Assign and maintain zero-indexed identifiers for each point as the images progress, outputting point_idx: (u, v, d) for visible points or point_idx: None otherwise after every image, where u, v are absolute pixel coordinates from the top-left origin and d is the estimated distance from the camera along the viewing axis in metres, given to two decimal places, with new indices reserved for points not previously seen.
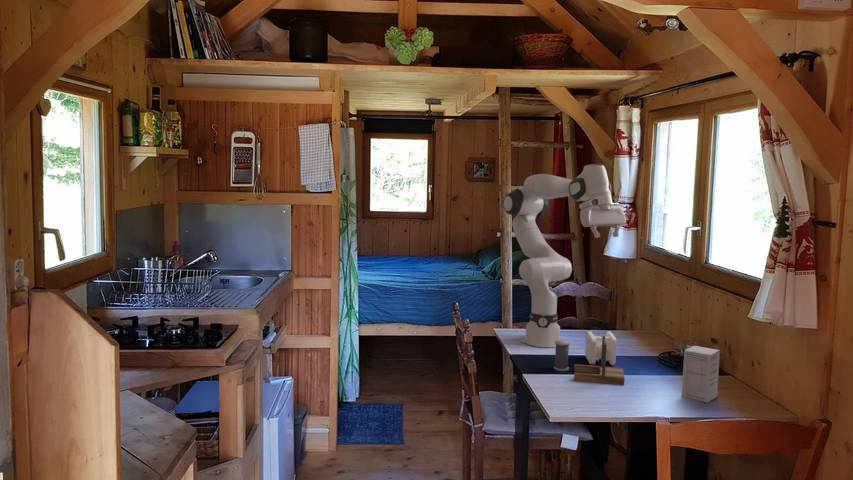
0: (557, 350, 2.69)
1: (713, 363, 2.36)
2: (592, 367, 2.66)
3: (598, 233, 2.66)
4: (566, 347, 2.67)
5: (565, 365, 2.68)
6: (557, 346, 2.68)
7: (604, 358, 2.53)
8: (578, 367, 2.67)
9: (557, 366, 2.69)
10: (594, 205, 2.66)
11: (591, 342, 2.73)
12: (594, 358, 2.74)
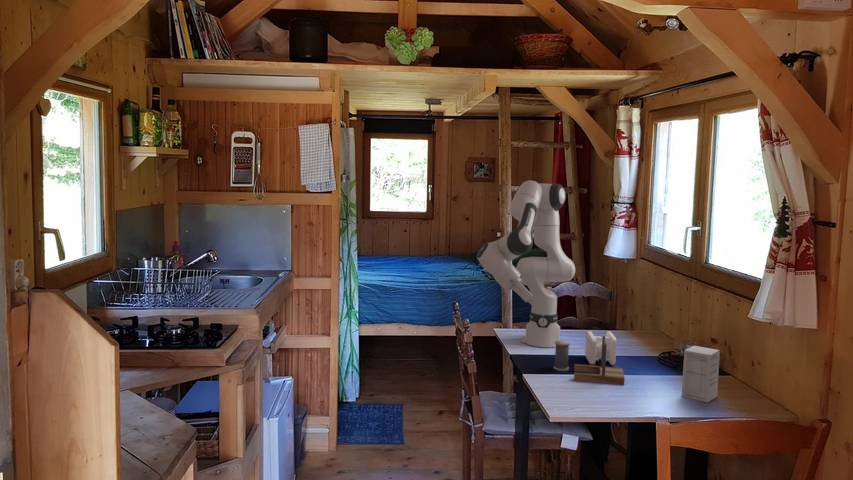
0: (557, 350, 2.69)
1: (713, 363, 2.36)
2: (592, 367, 2.66)
3: None
4: (566, 347, 2.67)
5: (565, 365, 2.68)
6: (557, 346, 2.68)
7: (604, 358, 2.53)
8: (578, 367, 2.67)
9: (557, 366, 2.69)
10: None
11: (591, 342, 2.73)
12: (594, 358, 2.74)
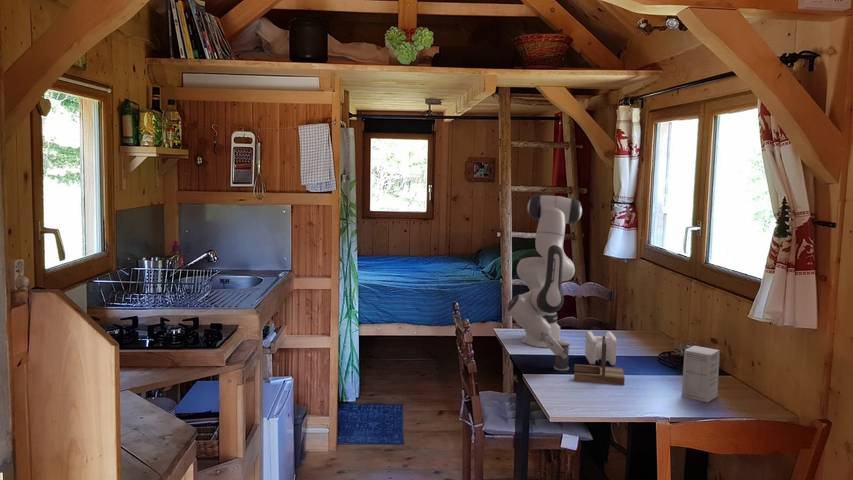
0: None
1: (713, 363, 2.36)
2: (592, 367, 2.66)
3: None
4: (566, 347, 2.67)
5: (565, 365, 2.68)
6: None
7: (604, 358, 2.53)
8: (578, 367, 2.67)
9: (557, 366, 2.69)
10: None
11: (591, 342, 2.73)
12: (594, 358, 2.74)
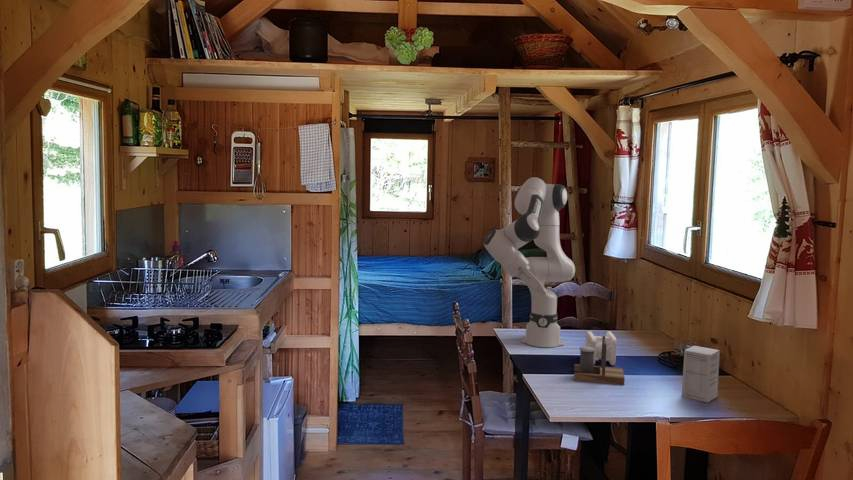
0: (582, 357, 2.60)
1: (713, 363, 2.36)
2: None
3: None
4: (591, 354, 2.59)
5: (590, 372, 2.60)
6: (582, 353, 2.60)
7: (604, 358, 2.53)
8: (578, 367, 2.67)
9: None
10: None
11: (591, 342, 2.73)
12: (594, 358, 2.74)
